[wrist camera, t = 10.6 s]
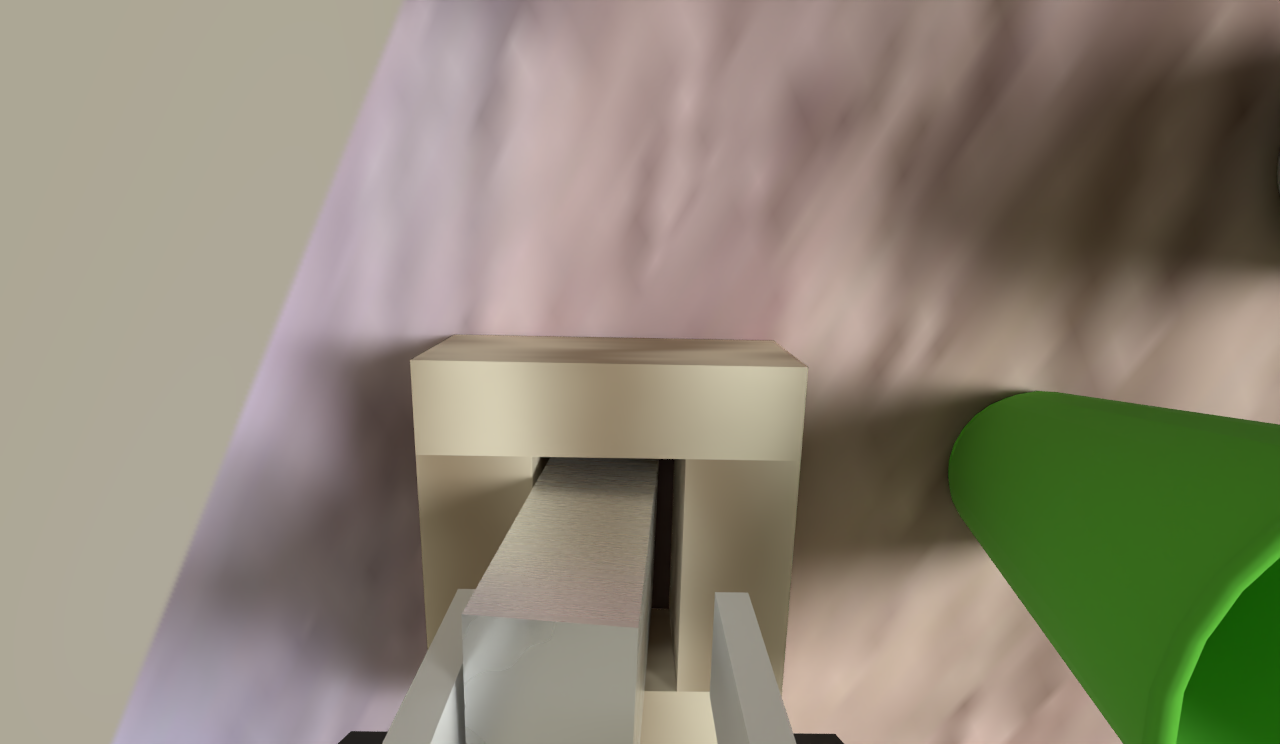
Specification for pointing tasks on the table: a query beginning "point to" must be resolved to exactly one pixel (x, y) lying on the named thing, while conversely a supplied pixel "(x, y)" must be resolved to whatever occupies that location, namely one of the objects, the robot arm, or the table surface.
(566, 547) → the grey rectangular block
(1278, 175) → the soda can
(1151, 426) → the cup
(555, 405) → the slotted holder
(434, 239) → the table surface
